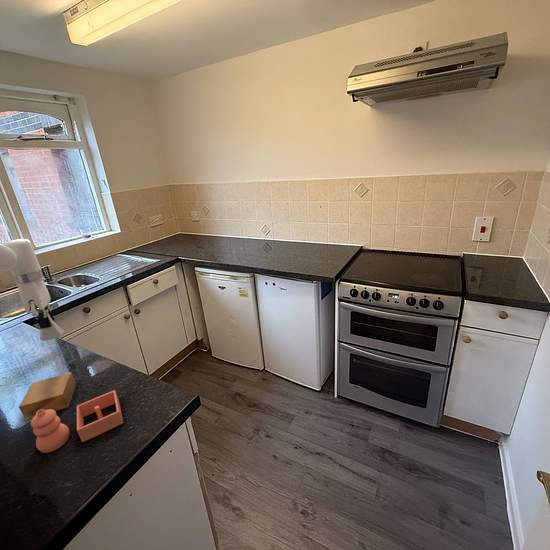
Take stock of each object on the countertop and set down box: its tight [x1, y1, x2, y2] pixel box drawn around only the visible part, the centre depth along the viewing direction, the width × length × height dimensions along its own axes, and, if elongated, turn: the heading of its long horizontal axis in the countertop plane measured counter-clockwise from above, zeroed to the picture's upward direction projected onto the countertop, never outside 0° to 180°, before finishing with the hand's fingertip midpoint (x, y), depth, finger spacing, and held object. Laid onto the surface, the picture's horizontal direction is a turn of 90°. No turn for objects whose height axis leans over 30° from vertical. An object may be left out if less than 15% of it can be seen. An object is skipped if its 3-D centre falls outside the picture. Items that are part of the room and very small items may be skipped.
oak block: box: [18, 371, 77, 421], centre depth 84 cm, size 10×10×5 cm
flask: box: [39, 309, 65, 342], centre depth 105 cm, size 7×7×10 cm
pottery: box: [30, 389, 124, 454], centre depth 73 cm, size 18×10×10 cm, turn 123°
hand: (47, 324), depth 105 cm, fingers closed on flask, 3 cm apart
